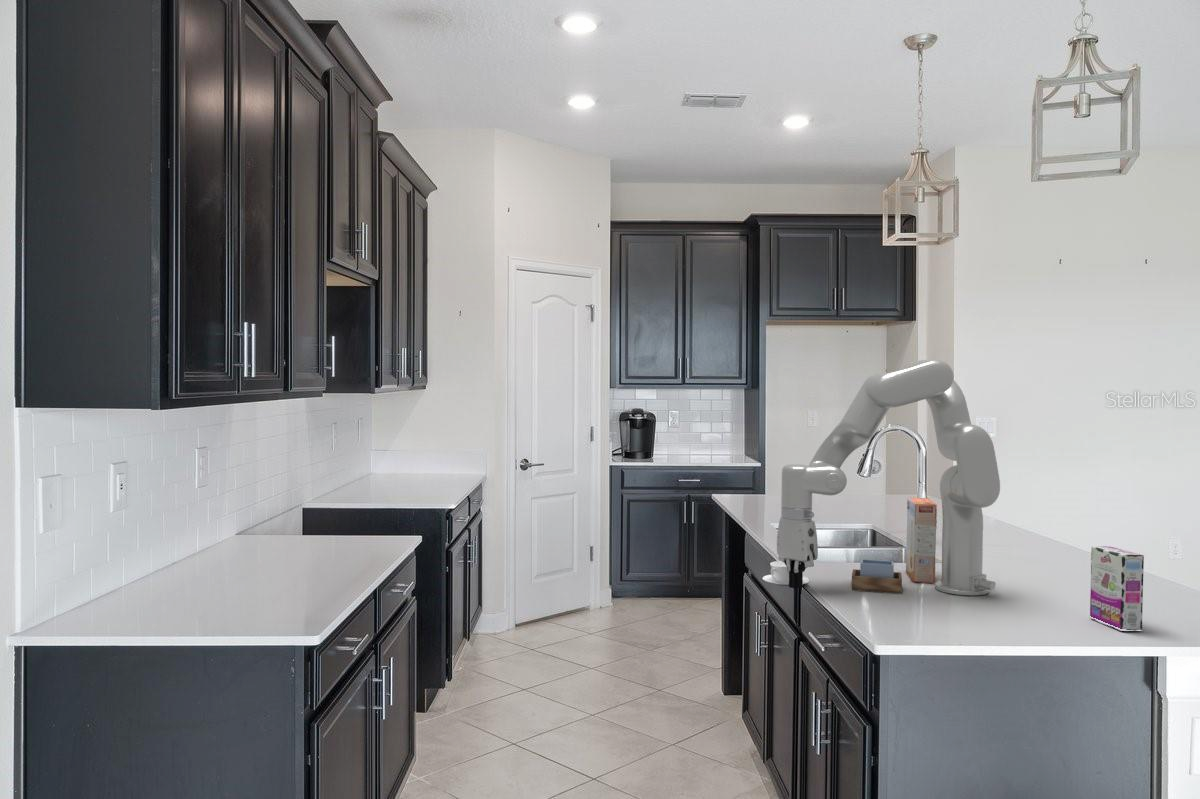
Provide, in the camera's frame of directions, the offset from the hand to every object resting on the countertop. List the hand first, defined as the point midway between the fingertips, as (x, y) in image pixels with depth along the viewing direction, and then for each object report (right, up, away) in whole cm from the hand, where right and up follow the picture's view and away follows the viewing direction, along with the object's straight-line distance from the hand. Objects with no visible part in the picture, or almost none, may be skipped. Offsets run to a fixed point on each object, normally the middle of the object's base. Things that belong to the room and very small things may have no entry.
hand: (795, 587), depth 226 cm
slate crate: (+22, -1, +4) cm, 22 cm away
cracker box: (+37, -1, +17) cm, 41 cm away
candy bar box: (+63, -2, -30) cm, 70 cm away
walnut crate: (+22, -1, +4) cm, 22 cm away
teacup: (-1, -1, +8) cm, 8 cm away
